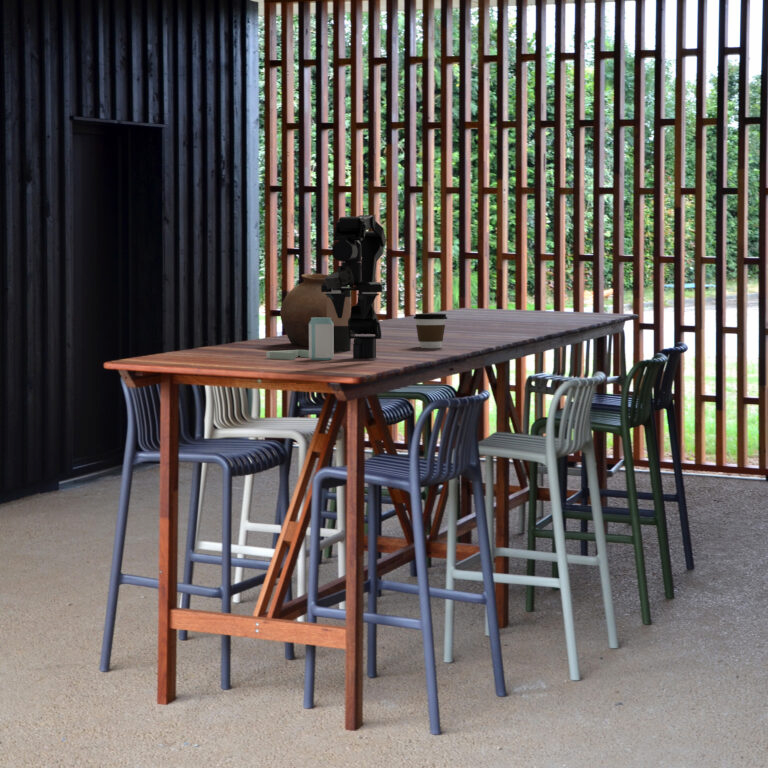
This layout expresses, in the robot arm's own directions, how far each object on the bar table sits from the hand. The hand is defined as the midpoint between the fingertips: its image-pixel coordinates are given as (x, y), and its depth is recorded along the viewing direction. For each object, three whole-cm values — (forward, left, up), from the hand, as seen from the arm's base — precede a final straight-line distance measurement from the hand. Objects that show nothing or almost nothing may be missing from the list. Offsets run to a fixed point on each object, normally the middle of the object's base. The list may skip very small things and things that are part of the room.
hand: (351, 318), depth 352 cm
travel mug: (-28, -32, -12) cm, 45 cm away
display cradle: (0, -22, -12) cm, 25 cm away
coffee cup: (-57, -19, -12) cm, 62 cm away
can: (0, -12, -12) cm, 17 cm away
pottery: (-35, -49, -12) cm, 62 cm away
